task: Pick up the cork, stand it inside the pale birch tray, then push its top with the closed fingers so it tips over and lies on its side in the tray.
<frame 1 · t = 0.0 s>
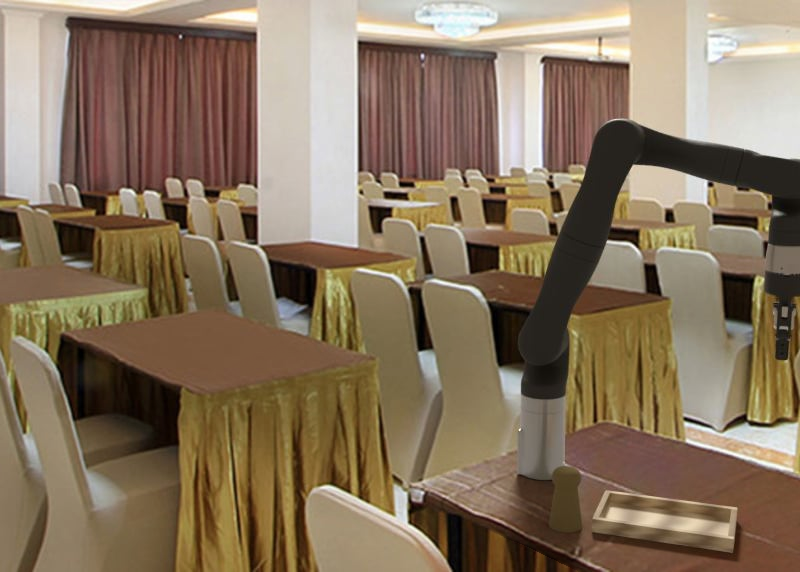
hand: (781, 354, 178), 29 cm above the table, fingers open, 8 cm apart
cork: (565, 526, 174), on the table
birch tray: (665, 526, 174), on the table
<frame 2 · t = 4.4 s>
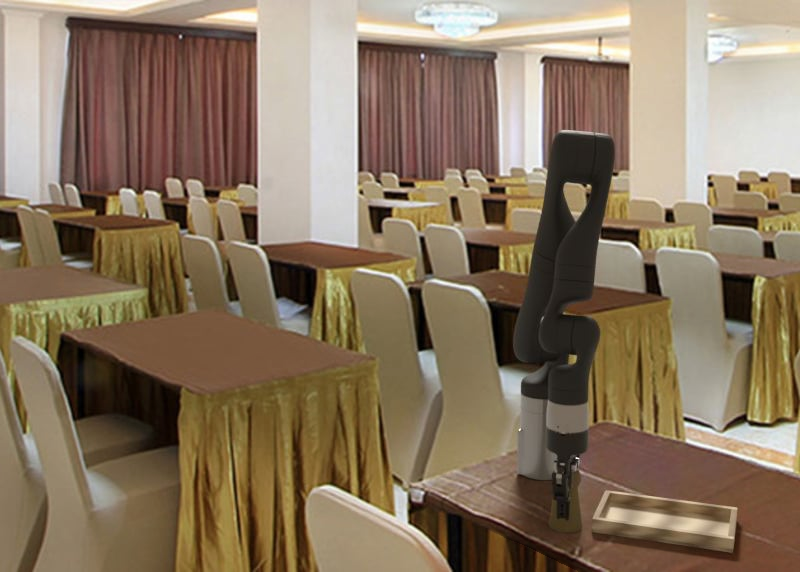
hand: (565, 513, 174), 2 cm above the table, fingers closed on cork, 4 cm apart
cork: (565, 526, 174), on the table, touching gripper
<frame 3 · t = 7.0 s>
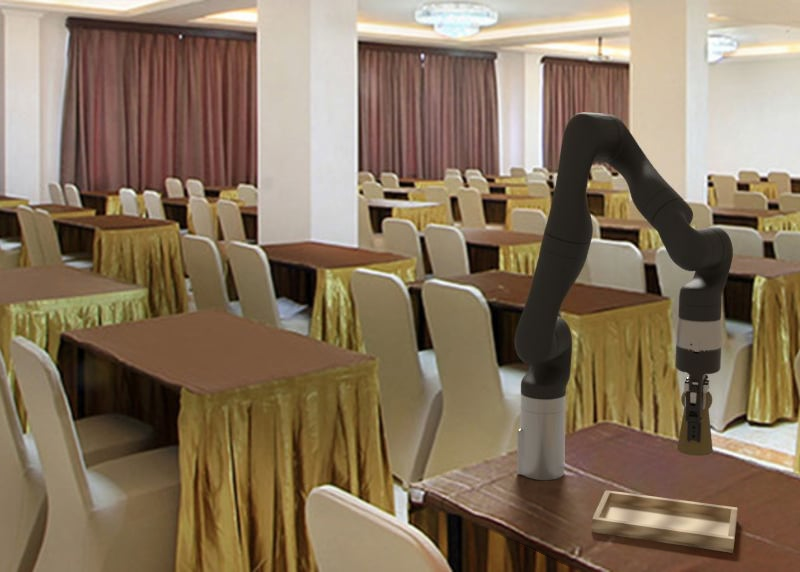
hand: (695, 437, 168), 18 cm above the table, fingers closed on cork, 4 cm apart
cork: (694, 450, 169), point 15 cm above the table, touching gripper
when the fingers open (4 cm above the table, at t = 9.9 s): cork drops 1 cm, resting on birch tray.
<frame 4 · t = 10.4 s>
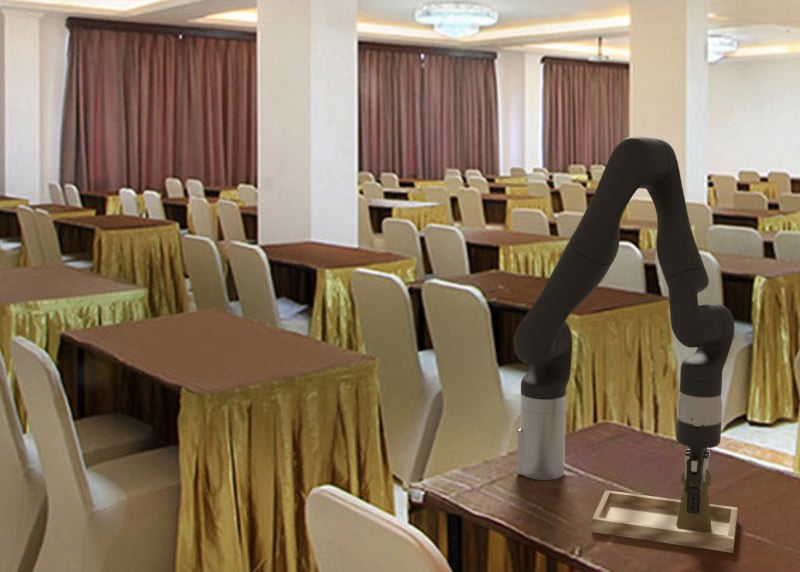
hand: (695, 503, 171), 5 cm above the table, fingers open, 8 cm apart
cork: (693, 527, 172), resting on birch tray
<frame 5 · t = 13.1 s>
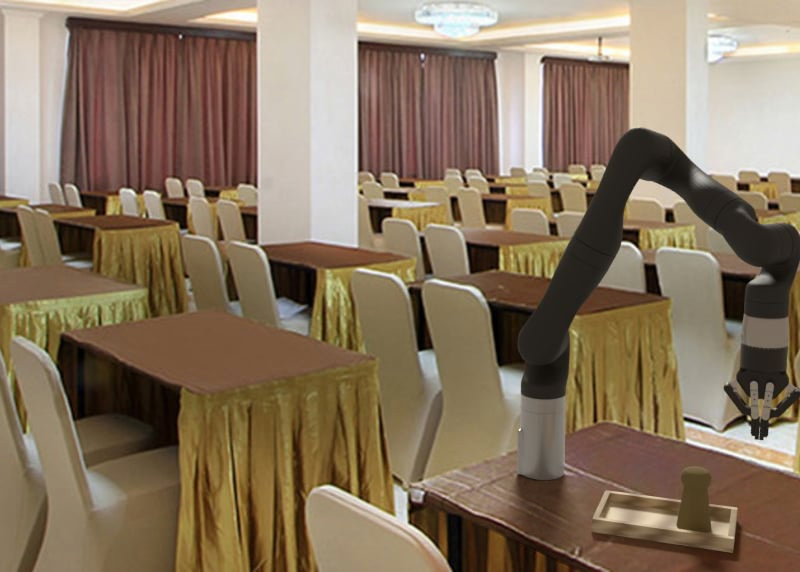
hand: (758, 438, 165), 18 cm above the table, fingers closed
nothing on the table moved.
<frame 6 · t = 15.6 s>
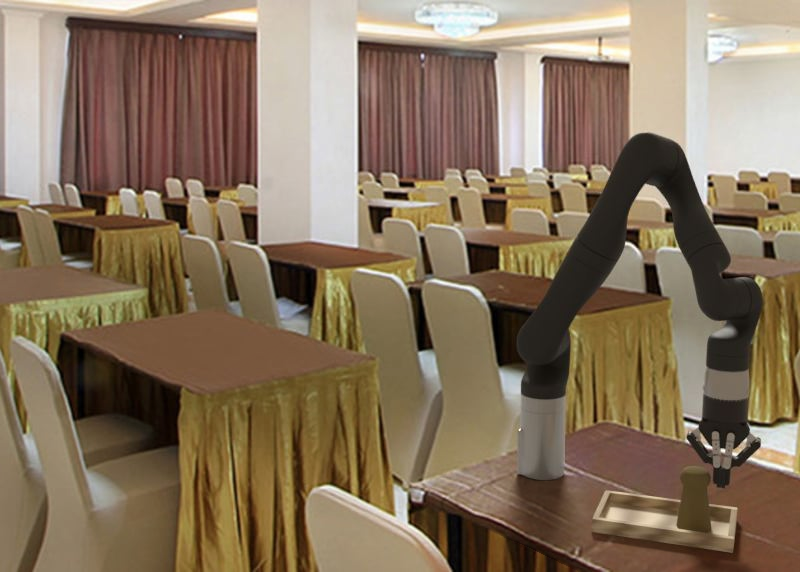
hand: (720, 486, 169), 9 cm above the table, fingers closed
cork: (693, 527, 172), resting on birch tray, touching gripper
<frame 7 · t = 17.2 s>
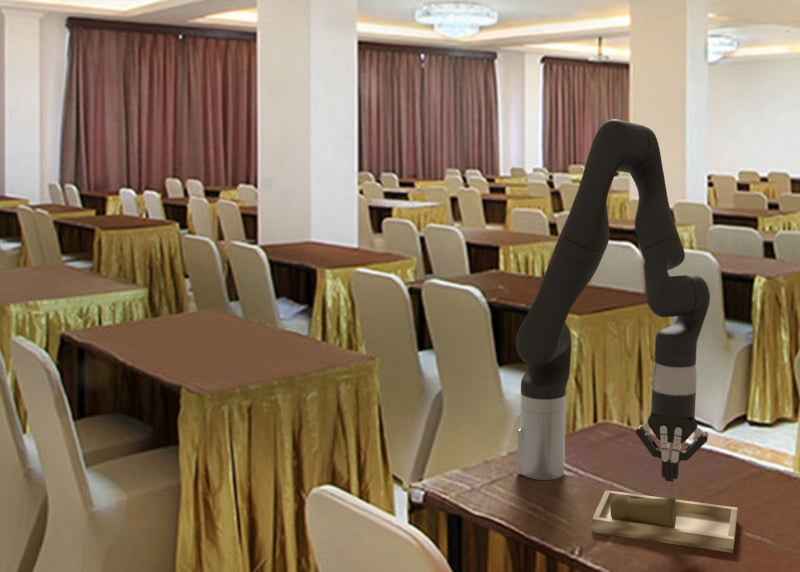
hand: (669, 479, 172), 9 cm above the table, fingers closed
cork: (674, 515, 169), point 4 cm above the table, touching birch tray
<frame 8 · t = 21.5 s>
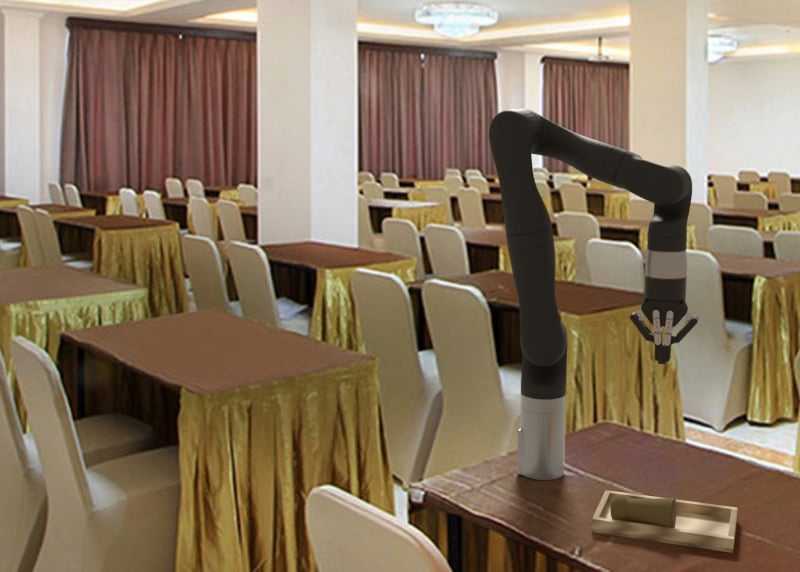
hand: (662, 363, 182), 27 cm above the table, fingers closed
nothing on the table moved.
at the end: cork tilted 93°; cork inside the target area (3.7 cm from its centre), point 3.7 cm above the table; the gripper is holding nothing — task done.
